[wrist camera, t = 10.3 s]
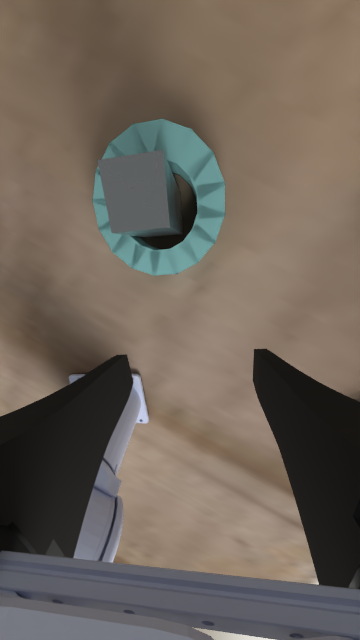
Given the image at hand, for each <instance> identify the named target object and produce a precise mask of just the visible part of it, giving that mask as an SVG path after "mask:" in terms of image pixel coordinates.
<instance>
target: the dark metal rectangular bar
mask: <svg viewBox="0 0 360 640" xmlns="http://www.w3.org/2000/svg"><path fill="white" fill-rule="evenodd" d="M97 161H98V166H99V172H100V177H101V182H102V187H103V192H104V197H105V202H106V207H107V212H108V217H109V222H110V227H111V232H112V233H114V234H123V235H131V236H140V237H160V236H170V235H180V234H183V224H182V210H181V196H180V191H179V188H178V186H177V184H176V181H175V179H174V176H173V174H172V171H171V169H170V166H169V164H168V161H167V159H166V156H165V154H164V151H163V150H158V151H151V152H145V153H138V154H132V155H126V156H119V157H113V158H106V159H100V160H97Z"/></svg>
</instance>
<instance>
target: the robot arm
mask: <svg viewBox="0 0 360 640" xmlns="http://www.w3.org/2000/svg"><path fill="white" fill-rule="evenodd" d="M132 377H133V378H134V379H133V378H132ZM69 381H70V384H69V385H67V386H66V387H64V388H62V389H60V390H58V391H57V392H55V393H53V394H51V395H49V396H47V397H45V398H43V399H41V400H38V401H36V402H34V403H32V404H29V405H27V406H25V407H23V408H21V409H18V410H16V411H13V412H11V413H8V414H6V415H3V416H1V417H0V640H214V639H213V638H212V637H211V636H209V635H207V634H205V633H202V632H200V631H198V630H196V629H194V628H201V629H208V630H215V631H222V632H229V633H236V634H242V635H249V636H256V637H263V638H269V639H277V640H360V402H358V401H356V400H354V399H352V398H349V397H347V396H345V395H343V394H341V393H339V392H337V391H335V390H333V389H331V388H329V387H327V386H325V385H323V384H321V383H319V382H318V381H316V380H314V379H312V378H311V377H309V376H307V375H306V374H304V373H302V372H301V371H299V370H297V369H296V368H294V367H293V366H291V365H290V364H288V363H287V362H285V361H284V360H282V359H281V358H279V357H278V356H276V355H275V354H273V353H272V352H271V351H269V350H267V349H254V366H253V382H254V386H255V390H256V393H257V396H258V399H259V402H260V404H261V406H262V409H263V411H264V413H265V416H266V418H267V420H268V423H269V425H270V427H271V430H272V432H273V434H274V437H275V439H276V442H277V444H278V447H279V449H280V452H281V455H282V459H283V462H284V465H285V468H286V471H287V474H288V477H289V481H290V484H291V487H292V490H293V494H294V497H295V500H296V503H297V507H298V510H299V514H300V517H301V521H302V524H303V527H304V531H305V534H306V538H307V542H308V545H309V549H310V552H311V556H312V560H313V563H314V567H315V571H316V574H317V578H318V582H319V585H315V584H305V583H296V582H287V581H278V580H268V579H259V578H250V577H241V576H232V575H222V574H213V573H204V572H195V571H186V570H176V569H167V568H158V567H149V566H140V565H130V564H121V563H113V560H114V557H115V554H116V551H117V548H118V545H119V541H120V537H121V533H122V528H123V519H124V514H123V501H122V499H121V497H120V496H118V495H117V493H118V490H119V487H120V484H121V480H119V479H118V478H117V477H116V476H117V474H118V471H119V468H120V465H121V463H122V460H123V457H124V454H125V452H126V449H127V446H128V443H129V441H130V438H131V435H132V432H133V430H134V427H135V424H136V423H148V421H149V416H148V412H147V407H146V402H145V397H144V392H143V387H142V382H141V377H140V375H138V374H131V370H130V366H129V362H128V358H127V355H116V356H114V357H112V358H111V359H109V360H107V361H106V362H104V363H103V364H101V365H100V366H98V367H96V368H95V369H93V370H92V371H90V372H89V373H87V374H72V375H70V376H69ZM192 627H194V628H192Z"/></svg>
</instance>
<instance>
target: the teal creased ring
mask: <svg viewBox="0 0 360 640" xmlns="http://www.w3.org/2000/svg"><path fill="white" fill-rule="evenodd" d="M158 150H163V151H164V154H165V156H166V159H167V161H168V164H169V166H170V169H171V171H172V172H173V173H175V174H178V175H180V176H181V177H182V178H183V179H184V180H186V181H187V182H188V183H189V184H190V185H191V187H192V189H193V192H194V194H195V196H196V199H197V211H198V212H197V215H196V219H195V222H194V225H193V229H192V230H191V231H190V233H189V234H188V235H187V236H186V238H185V239H184V240H183V242H181V243H179V244H178V245H176V246H174V247H172V248H170V249H158V248H155V247H152V246H149V245H148V244H147V243H146V242H145V241H143V240H142V239H141V238H140V237H139V236H131V235H123V234H114V233H112V232H111V227H110V222H109V217H108V212H107V207H106V202H105V197H104V192H103V187H102V182H101V177H100V172H99V166H98V168H97V169H96V171H95V172H96V175H95V184H94V194H93V199H92V200H93V204H94V209H95V213H96V218H97V222H98V227H99V231H100V232H101V233H102V235H103V237H104V238H105V240H106V242H107V243H108V245H109V247H110V248H111V250H112V252H113V253H114V254H116V255H117V256H118V257H119V258H120V259H122V260H123V261H124V262H125V263H126V264H128V265H129V266H130V267H131V268H132V269H136V270H139V271H142V272H145V273H148V274H151V275H154V276H155V275H166V274H178V273H179V272H181V271H183V270H185V269H187V268H188V267H190V266H192V265H194V264H196V263H198V262H199V261H200V259H201V258H202V257H203V256H204V255H205V254H206V252H207V251H208V250H209V249H210V248H211V246H212V245H213V244H215V242H216V238H217V235H218V232H219V230H220V227H221V224H222V221H223V218H224V217H225V181H224V180H223V177H222V175H221V172H220V169H219V167H218V164H217V161H216V159H215V156H214V153H213V151H211V150H210V149H209V147H208V146H207V145H206V144H205V143H204V142H203V141H202V140H201V139H200V138H199V137H198V136H197V135H196V134H195V133H194V132H193V130H192V129H191V128H187V127H184V126H181V125H178V124H176V123H173V122H170V121H167V120H164V119H158V120H153V121H148V122H142V123H137V124H135V123H134V124H132V125H131V126H130V127H129V128H128V129H127V130H125V131H124V132H123V133H122V134H120V135H119V136H118V137H117V138H115V139H114V140H113V141H112V142H110V143H109V146H108V148H107V150H106V152H105V154H104V156H103V158H102V159H106V158H113V157H119V156H126V155H132V154H138V153H145V152H151V151H158Z"/></svg>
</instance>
